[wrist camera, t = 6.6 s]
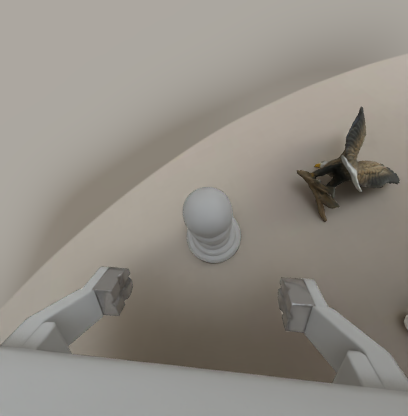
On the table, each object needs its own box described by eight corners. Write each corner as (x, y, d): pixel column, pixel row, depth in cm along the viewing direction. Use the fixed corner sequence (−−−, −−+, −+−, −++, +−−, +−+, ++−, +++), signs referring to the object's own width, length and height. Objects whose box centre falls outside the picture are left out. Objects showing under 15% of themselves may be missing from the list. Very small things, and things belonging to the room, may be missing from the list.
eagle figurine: (295, 206, 23) (360, 164, 23) (353, 239, 16) (442, 181, 16) (275, 148, 19) (352, 99, 19) (338, 160, 13) (452, 87, 13)
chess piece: (185, 214, 21) (158, 172, 12) (235, 207, 21) (243, 159, 12) (190, 266, 19) (162, 259, 11) (245, 259, 19) (262, 245, 10)
